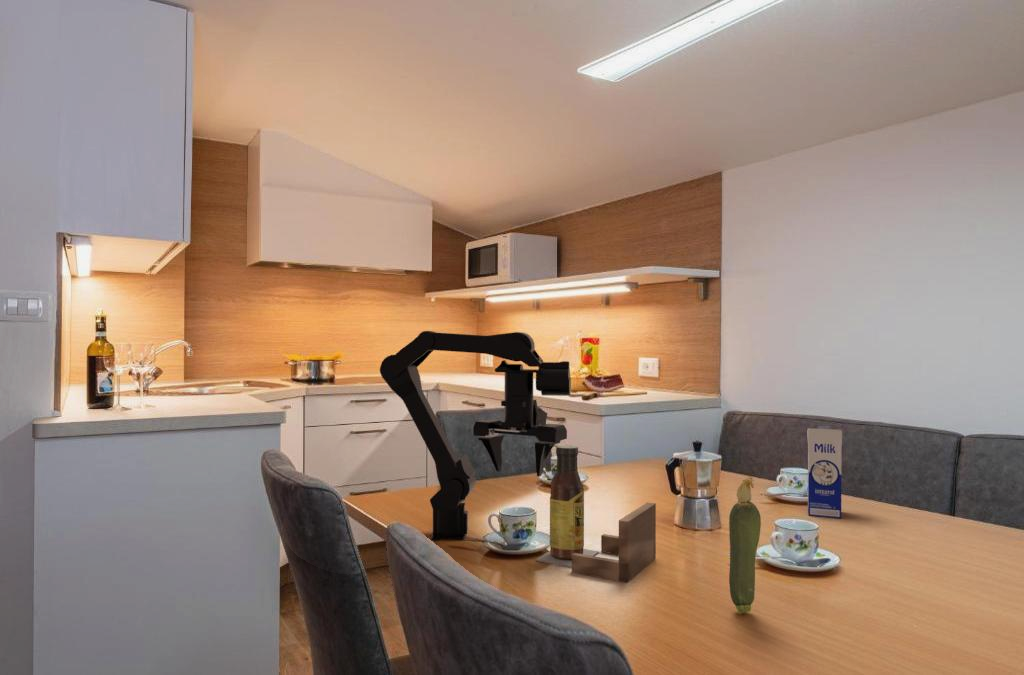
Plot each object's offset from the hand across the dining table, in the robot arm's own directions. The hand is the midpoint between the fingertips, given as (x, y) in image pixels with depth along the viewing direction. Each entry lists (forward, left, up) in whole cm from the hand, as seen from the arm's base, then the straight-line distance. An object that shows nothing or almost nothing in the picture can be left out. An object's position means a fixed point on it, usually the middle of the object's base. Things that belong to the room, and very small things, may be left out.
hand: (518, 473), depth 138 cm
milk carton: (+70, +21, -13) cm, 74 cm away
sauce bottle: (+9, -11, -13) cm, 19 cm away
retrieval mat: (+9, -11, -13) cm, 19 cm away
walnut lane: (+17, -16, -13) cm, 26 cm away
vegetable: (+33, -36, -13) cm, 51 cm away
